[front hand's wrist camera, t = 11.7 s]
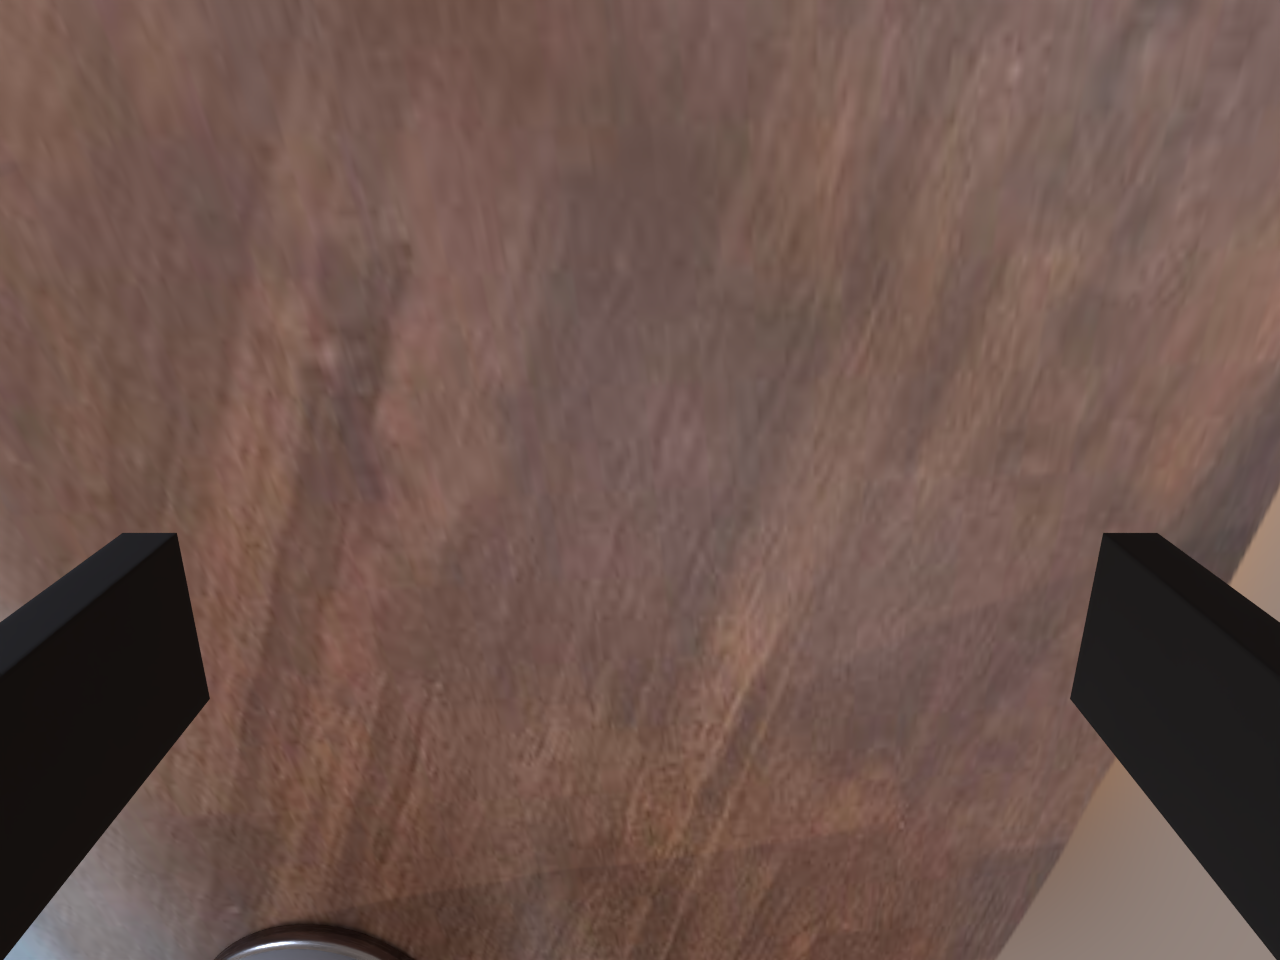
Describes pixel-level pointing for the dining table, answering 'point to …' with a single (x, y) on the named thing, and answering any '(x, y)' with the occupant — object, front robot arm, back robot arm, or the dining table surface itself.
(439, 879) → the dining table surface
